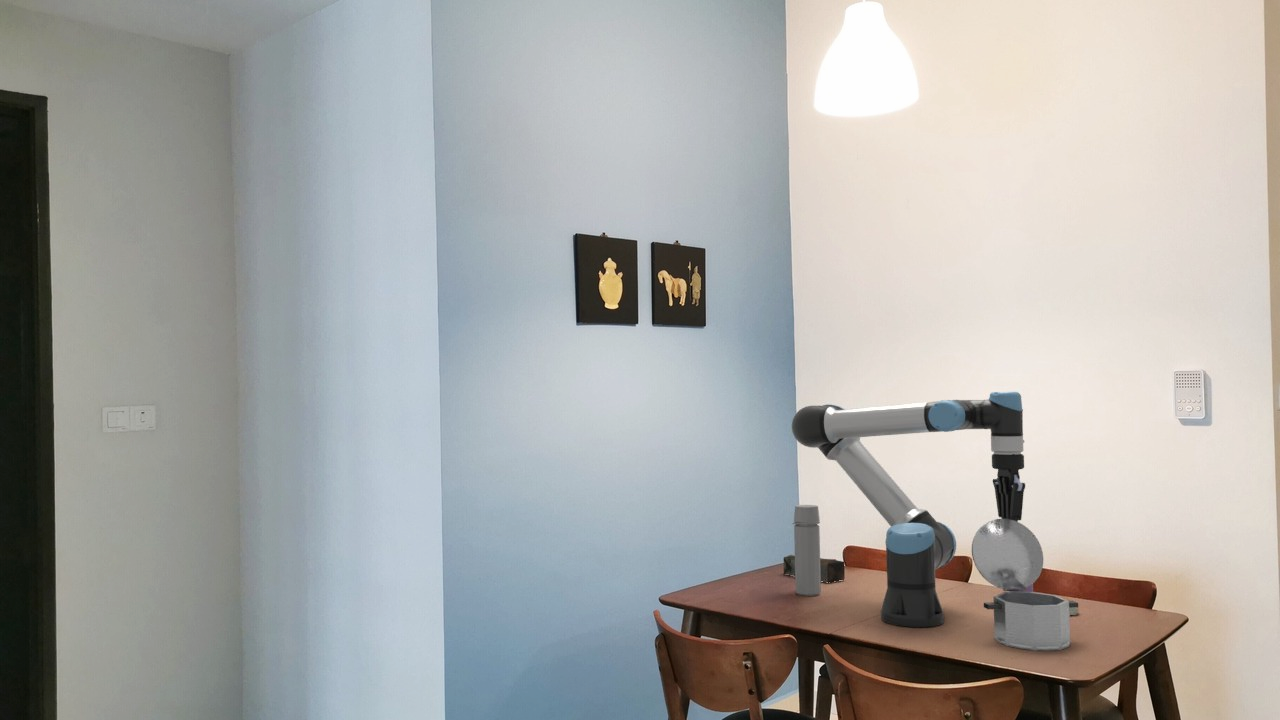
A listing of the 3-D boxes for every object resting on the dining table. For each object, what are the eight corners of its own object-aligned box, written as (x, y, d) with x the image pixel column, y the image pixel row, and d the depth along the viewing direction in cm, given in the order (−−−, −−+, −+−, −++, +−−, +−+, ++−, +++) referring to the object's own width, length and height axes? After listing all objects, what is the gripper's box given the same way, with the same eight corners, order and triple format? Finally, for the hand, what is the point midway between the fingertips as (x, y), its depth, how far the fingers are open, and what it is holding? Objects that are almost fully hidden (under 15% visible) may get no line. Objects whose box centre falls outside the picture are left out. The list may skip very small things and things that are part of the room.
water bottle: (827, 595, 257) (825, 506, 259) (803, 597, 254) (801, 508, 256) (809, 589, 266) (807, 503, 267) (786, 591, 263) (784, 504, 264)
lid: (968, 518, 220) (963, 521, 223) (980, 591, 214) (974, 593, 217) (1037, 517, 221) (1031, 520, 224) (1050, 589, 214) (1044, 591, 217)
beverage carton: (800, 572, 293) (799, 552, 293) (846, 581, 278) (846, 560, 278) (782, 575, 288) (782, 554, 288) (829, 585, 273) (828, 563, 273)
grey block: (1060, 608, 239) (1059, 592, 239) (1084, 616, 230) (1083, 600, 230) (1032, 610, 237) (1032, 594, 237) (1055, 618, 228) (1055, 602, 229)
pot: (1002, 652, 198) (1000, 607, 198) (971, 633, 214) (970, 592, 214) (1095, 649, 199) (1093, 605, 199) (1058, 631, 215) (1056, 590, 215)
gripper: (1034, 454, 221) (1038, 551, 220) (1010, 451, 234) (1013, 543, 233) (1004, 454, 221) (1008, 552, 220) (981, 451, 234) (984, 544, 233)
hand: (1010, 547), depth 226 cm, fingers closed
